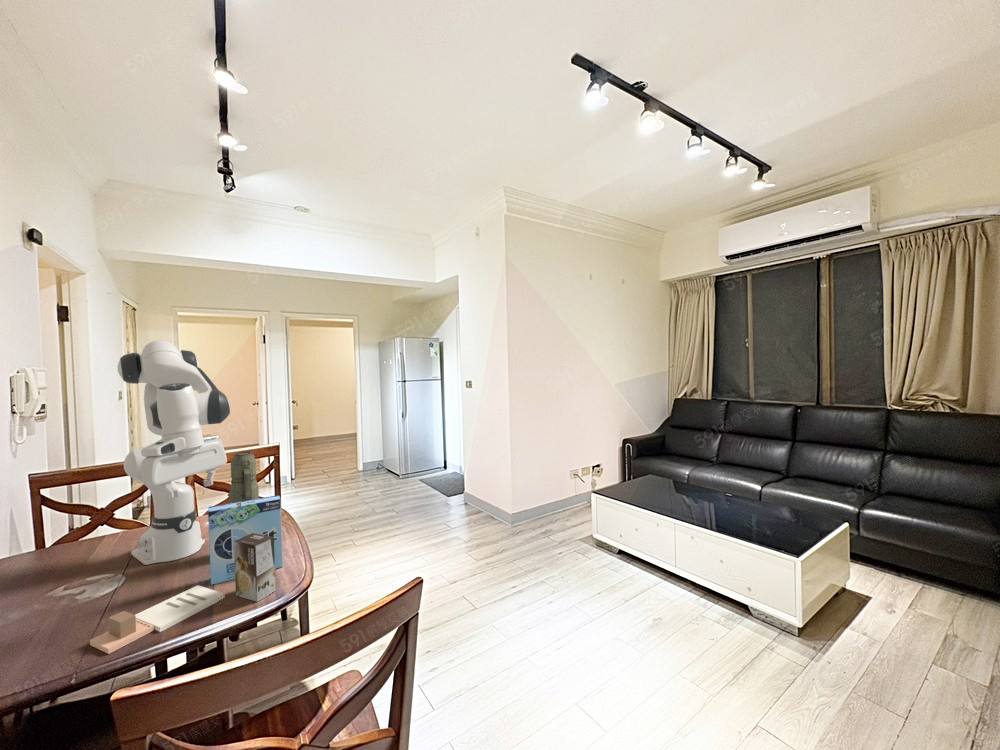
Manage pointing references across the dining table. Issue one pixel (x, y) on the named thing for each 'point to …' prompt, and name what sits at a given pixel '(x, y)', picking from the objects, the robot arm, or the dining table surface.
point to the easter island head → (243, 478)
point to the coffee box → (254, 566)
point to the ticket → (179, 607)
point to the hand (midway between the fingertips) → (191, 491)
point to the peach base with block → (121, 632)
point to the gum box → (241, 532)
